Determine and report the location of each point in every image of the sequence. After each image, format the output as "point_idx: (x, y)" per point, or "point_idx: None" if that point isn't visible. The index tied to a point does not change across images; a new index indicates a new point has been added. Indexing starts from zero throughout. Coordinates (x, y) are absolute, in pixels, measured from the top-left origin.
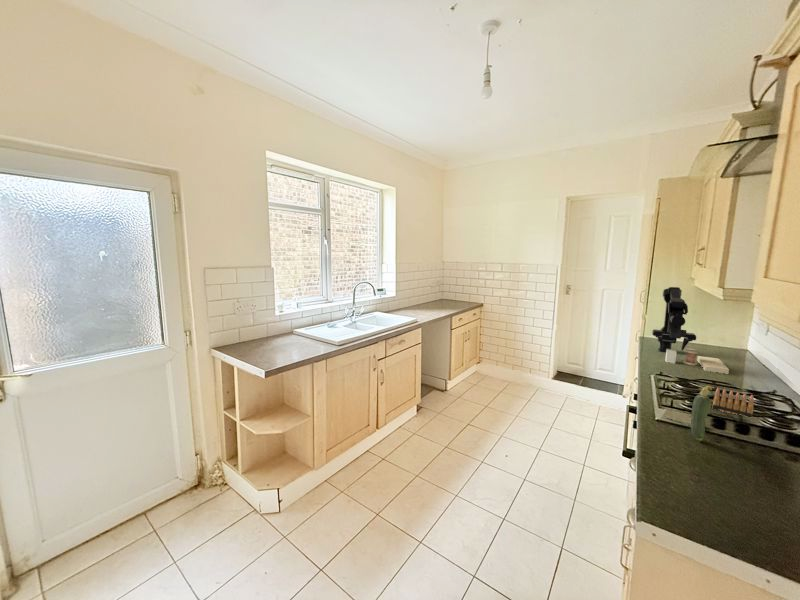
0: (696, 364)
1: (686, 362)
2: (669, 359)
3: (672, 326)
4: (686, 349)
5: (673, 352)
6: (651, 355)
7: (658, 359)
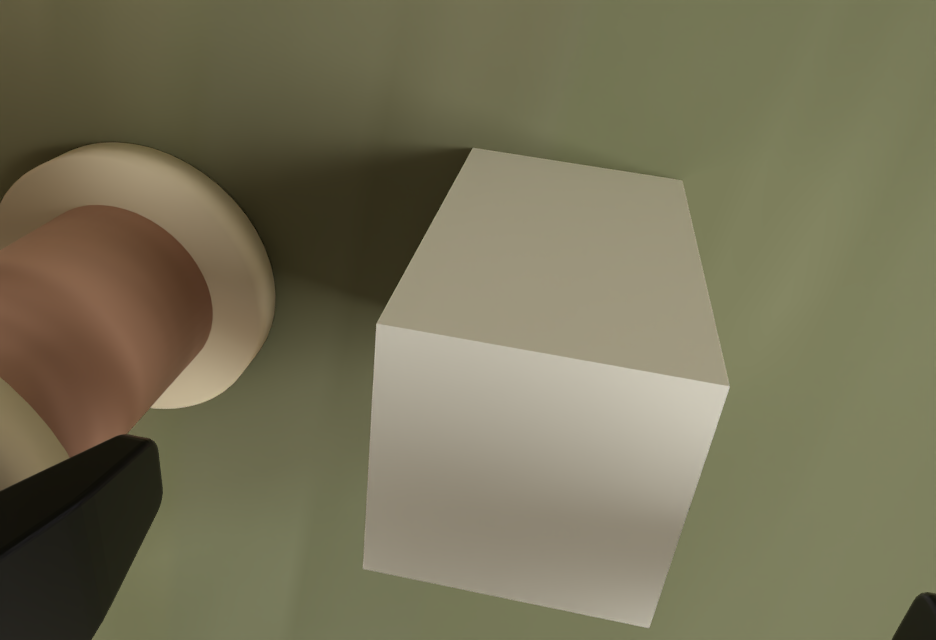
0: (17, 188)
1: (202, 217)
2: (609, 206)
3: None
4: None
5: (494, 320)
6: (818, 622)
7: (790, 372)
